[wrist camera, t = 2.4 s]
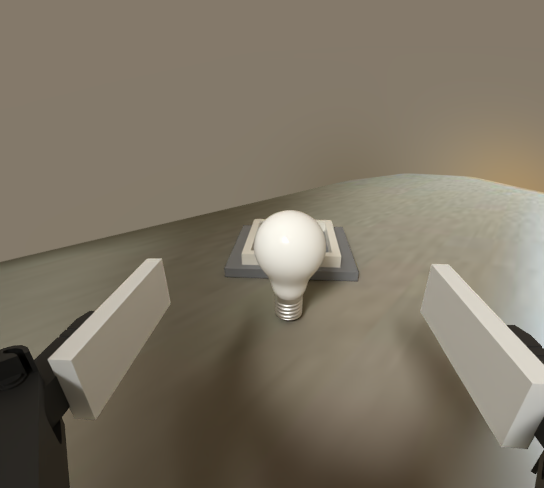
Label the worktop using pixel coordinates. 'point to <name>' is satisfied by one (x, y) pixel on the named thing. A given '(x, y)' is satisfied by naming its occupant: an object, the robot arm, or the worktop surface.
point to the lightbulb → (289, 257)
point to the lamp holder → (332, 268)
